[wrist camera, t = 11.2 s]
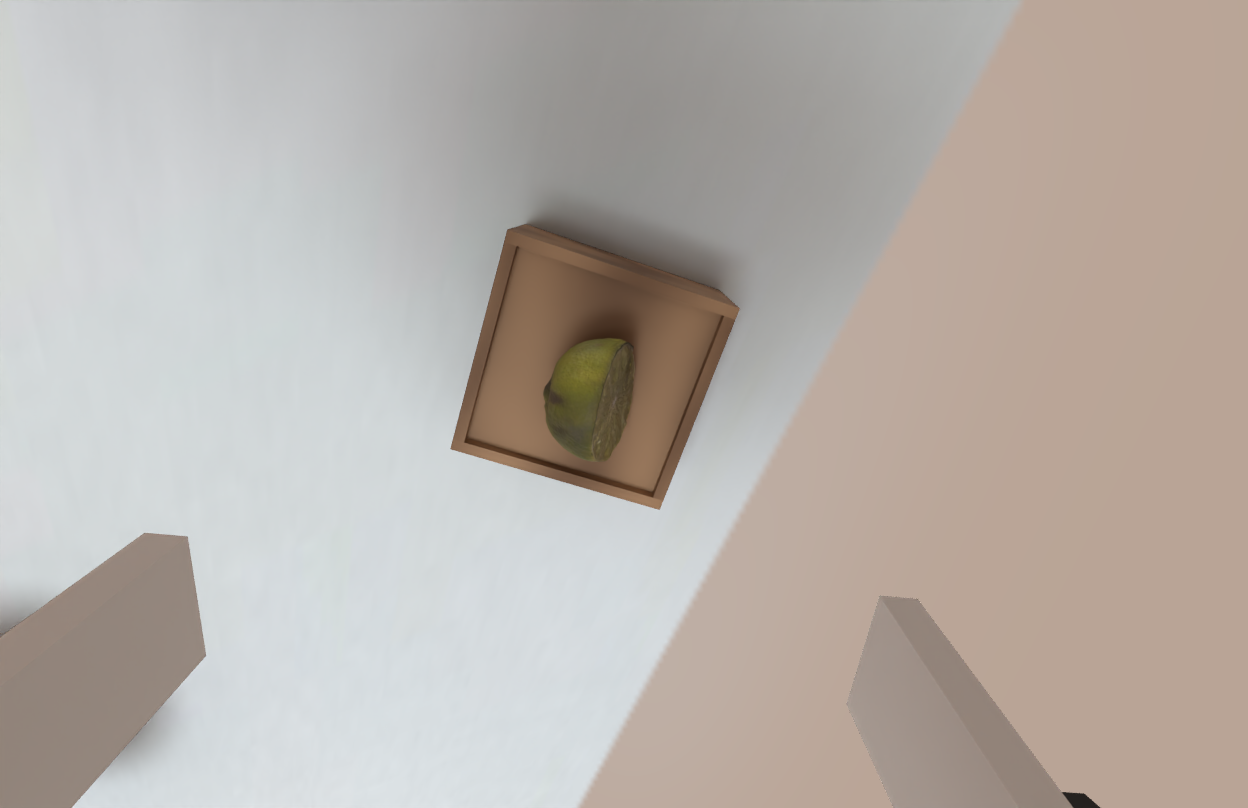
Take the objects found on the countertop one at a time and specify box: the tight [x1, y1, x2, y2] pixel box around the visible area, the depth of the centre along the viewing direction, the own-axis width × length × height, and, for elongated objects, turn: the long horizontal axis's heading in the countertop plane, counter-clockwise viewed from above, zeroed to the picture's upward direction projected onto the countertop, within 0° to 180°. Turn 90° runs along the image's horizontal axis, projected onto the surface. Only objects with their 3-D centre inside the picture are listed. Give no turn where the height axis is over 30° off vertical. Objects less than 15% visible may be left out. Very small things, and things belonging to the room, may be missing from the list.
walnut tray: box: [451, 224, 740, 510], centre depth 28 cm, size 10×10×6 cm
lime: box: [543, 338, 635, 462], centre depth 24 cm, size 4×5×5 cm
